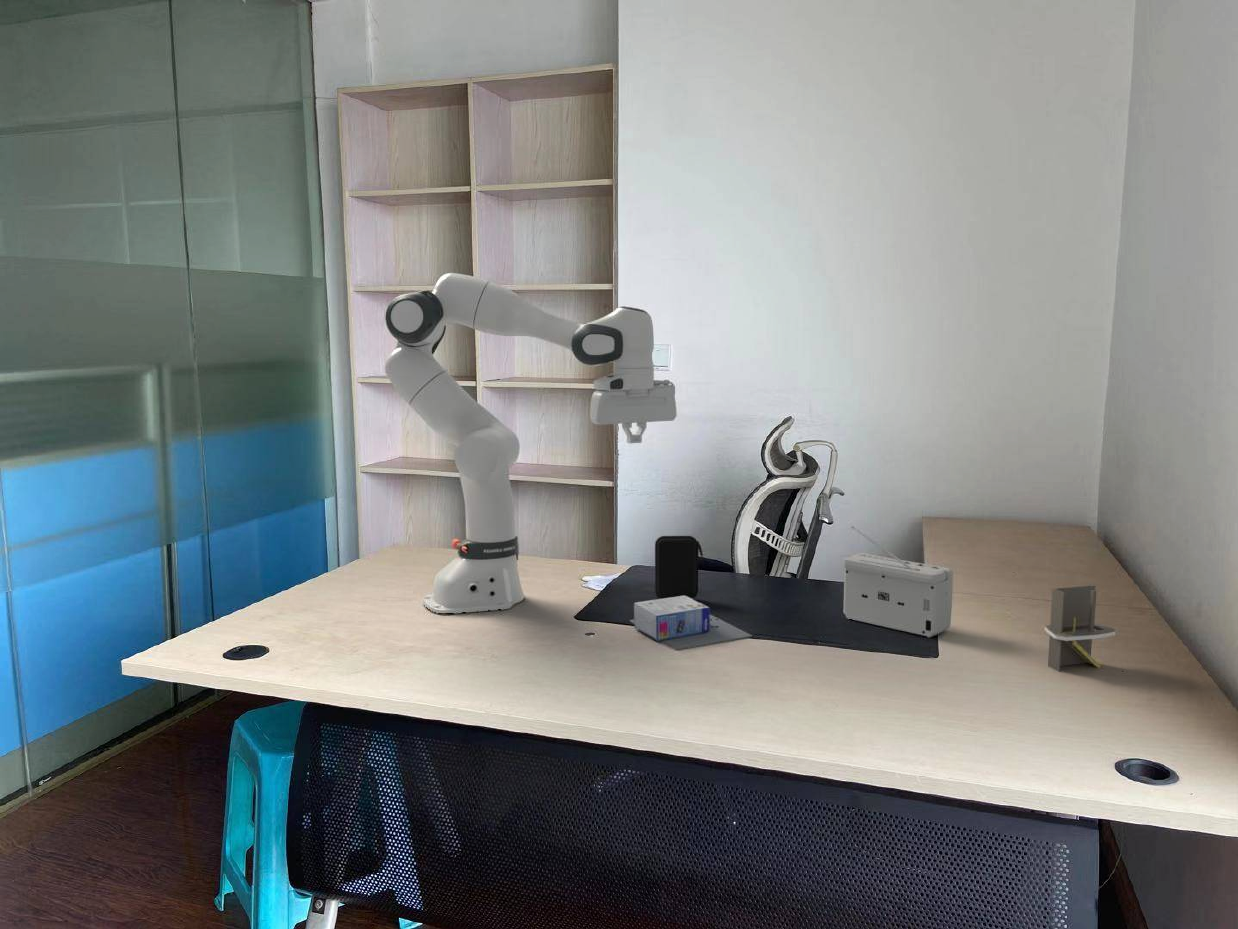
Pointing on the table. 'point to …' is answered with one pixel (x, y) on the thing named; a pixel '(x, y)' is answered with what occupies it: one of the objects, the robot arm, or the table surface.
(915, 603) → the stereo radio cassette player
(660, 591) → the carrying case or bag
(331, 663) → the table surface
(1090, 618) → the architectural model
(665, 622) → the ink cartridge box
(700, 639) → the mat
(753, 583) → the table surface
